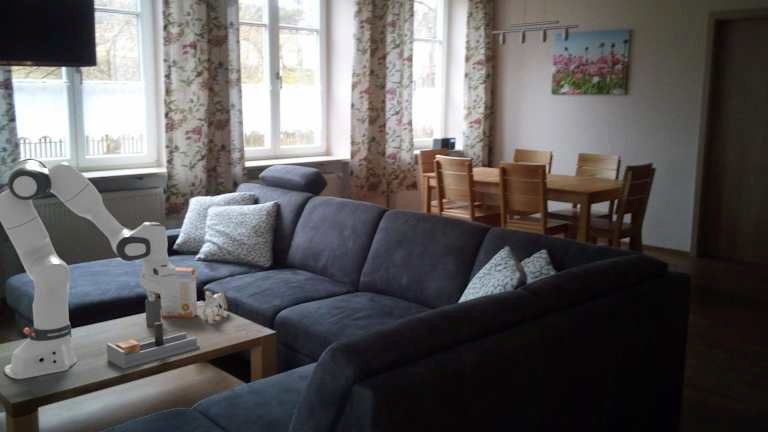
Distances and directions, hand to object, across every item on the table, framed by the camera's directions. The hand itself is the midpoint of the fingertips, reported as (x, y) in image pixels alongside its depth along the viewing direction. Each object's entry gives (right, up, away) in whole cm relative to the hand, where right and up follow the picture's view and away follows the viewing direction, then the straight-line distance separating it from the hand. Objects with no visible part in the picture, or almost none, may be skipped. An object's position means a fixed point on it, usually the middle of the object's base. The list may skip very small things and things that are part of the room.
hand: (158, 303), depth 256 cm
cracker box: (-6, -11, +47) cm, 49 cm away
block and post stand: (-5, -18, -2) cm, 19 cm away
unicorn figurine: (+12, -12, +43) cm, 46 cm away
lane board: (-2, -19, +2) cm, 19 cm away
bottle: (-13, -13, +34) cm, 39 cm away
